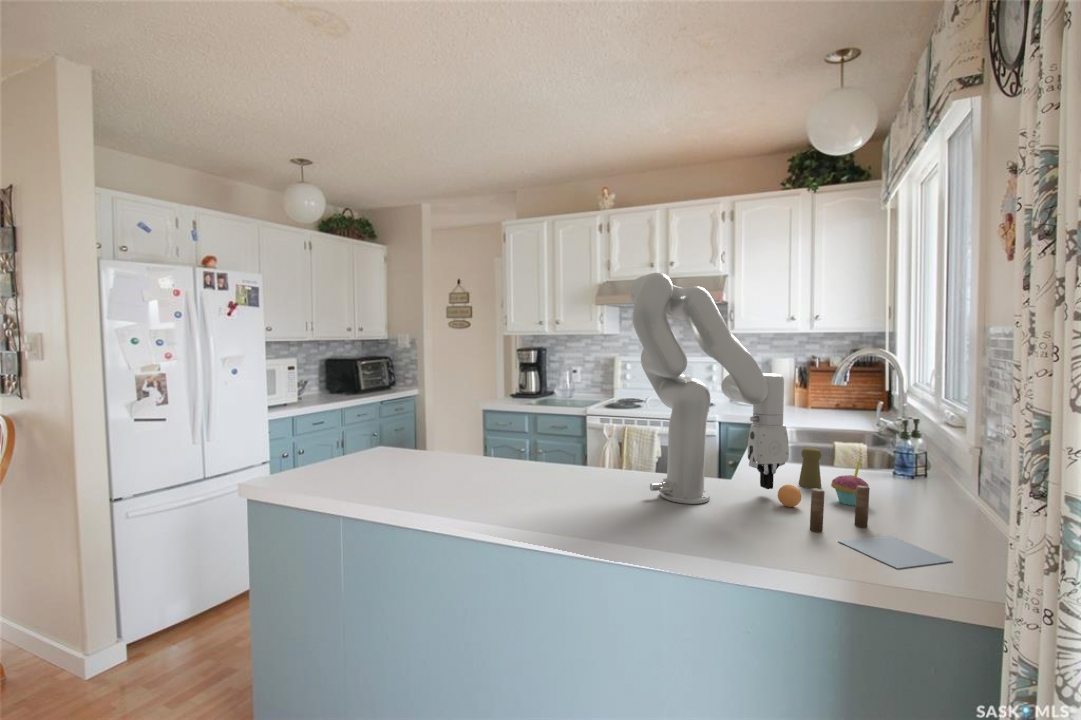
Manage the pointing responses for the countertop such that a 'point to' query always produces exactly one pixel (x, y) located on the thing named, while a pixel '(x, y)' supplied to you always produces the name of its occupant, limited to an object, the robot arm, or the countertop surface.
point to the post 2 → (862, 506)
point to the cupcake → (848, 486)
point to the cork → (810, 468)
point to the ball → (789, 495)
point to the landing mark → (895, 552)
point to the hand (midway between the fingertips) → (766, 487)
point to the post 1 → (817, 510)
